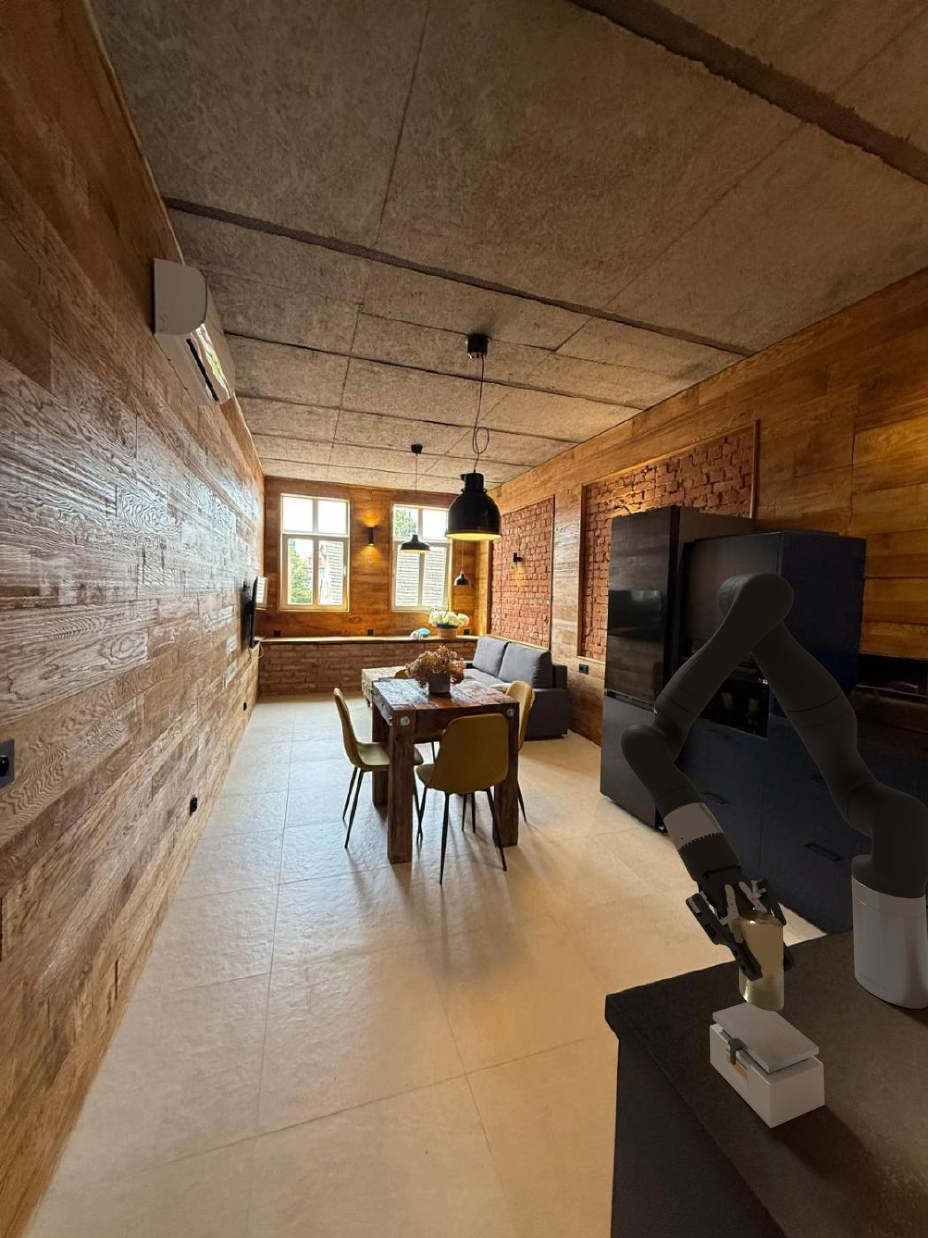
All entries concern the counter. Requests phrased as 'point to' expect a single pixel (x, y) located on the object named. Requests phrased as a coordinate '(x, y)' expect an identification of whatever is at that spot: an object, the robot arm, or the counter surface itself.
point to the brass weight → (763, 959)
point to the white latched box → (769, 1081)
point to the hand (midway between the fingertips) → (773, 974)
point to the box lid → (764, 1037)
